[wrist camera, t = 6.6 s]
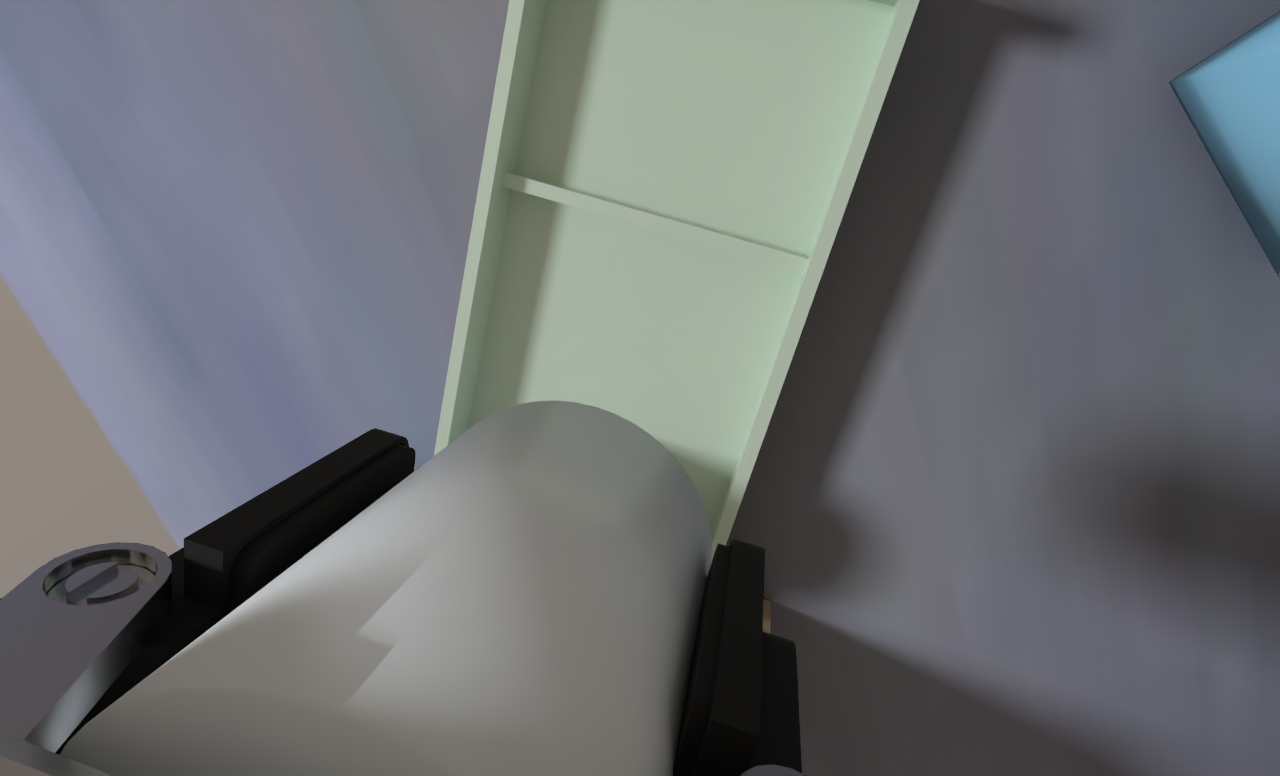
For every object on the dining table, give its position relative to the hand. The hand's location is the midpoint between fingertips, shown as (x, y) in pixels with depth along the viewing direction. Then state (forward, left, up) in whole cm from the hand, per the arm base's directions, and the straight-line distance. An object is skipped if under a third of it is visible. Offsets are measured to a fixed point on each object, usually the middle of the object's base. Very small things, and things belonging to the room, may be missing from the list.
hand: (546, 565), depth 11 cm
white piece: (0, 0, -1) cm, 1 cm away
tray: (+2, -2, -16) cm, 16 cm away
